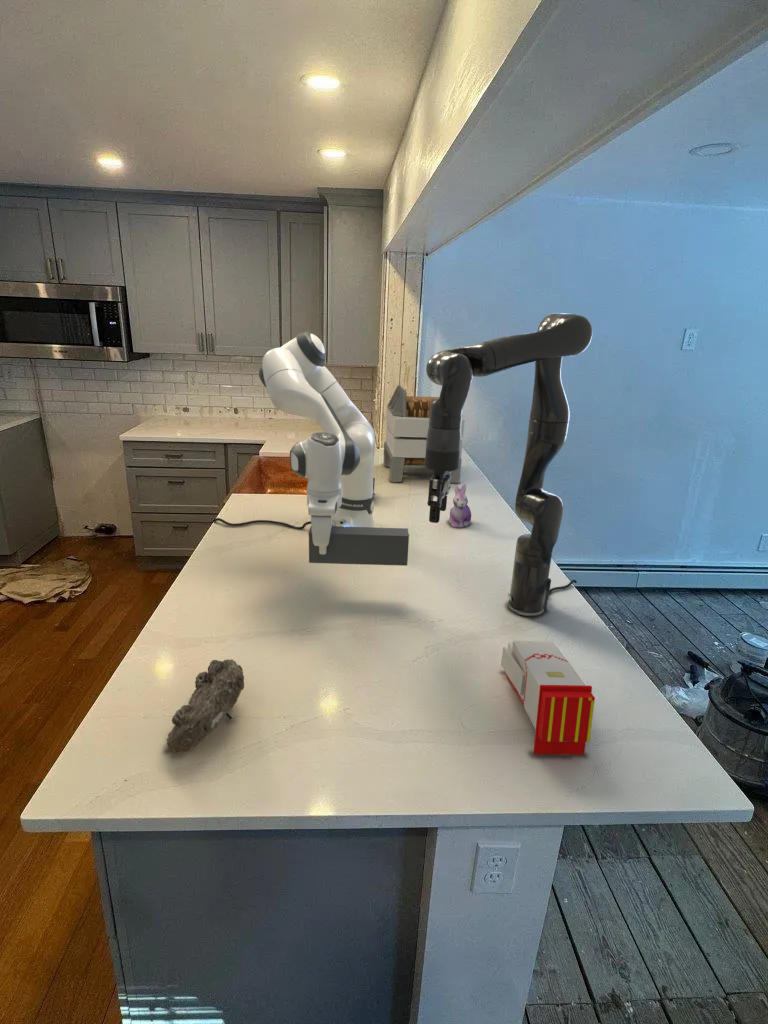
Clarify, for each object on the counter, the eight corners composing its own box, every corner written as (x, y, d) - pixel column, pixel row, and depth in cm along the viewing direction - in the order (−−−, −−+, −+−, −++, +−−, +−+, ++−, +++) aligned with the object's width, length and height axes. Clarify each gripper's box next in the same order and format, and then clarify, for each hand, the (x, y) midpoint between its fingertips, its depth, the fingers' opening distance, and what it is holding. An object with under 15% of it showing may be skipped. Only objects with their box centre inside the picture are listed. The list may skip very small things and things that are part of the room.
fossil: (192, 660, 117) (244, 628, 112) (224, 691, 120) (276, 661, 115) (142, 746, 98) (202, 712, 93) (182, 779, 101) (242, 748, 96)
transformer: (382, 463, 289) (386, 382, 275) (445, 464, 293) (451, 384, 279) (390, 482, 257) (394, 392, 243) (460, 483, 261) (468, 394, 247)
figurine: (457, 529, 205) (460, 490, 200) (441, 520, 214) (444, 482, 209) (478, 526, 210) (482, 487, 205) (462, 517, 218) (465, 480, 213)
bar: (309, 563, 147) (308, 533, 144) (311, 554, 152) (310, 525, 149) (407, 565, 147) (409, 536, 144) (406, 557, 152) (407, 528, 149)
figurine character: (374, 507, 229) (374, 492, 242) (375, 490, 225) (375, 475, 239) (358, 507, 228) (358, 491, 242) (358, 490, 225) (359, 475, 238)
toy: (549, 624, 127) (604, 693, 98) (544, 678, 130) (596, 762, 100) (496, 622, 127) (535, 692, 97) (491, 677, 129) (528, 761, 100)
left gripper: (315, 485, 153) (315, 532, 158) (307, 511, 134) (307, 564, 139) (339, 486, 153) (338, 533, 158) (334, 512, 134) (333, 565, 139)
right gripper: (454, 455, 117) (448, 529, 122) (465, 441, 130) (458, 508, 135) (419, 452, 119) (414, 524, 124) (432, 438, 132) (428, 504, 137)
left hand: (324, 548), depth 148 cm, fingers closed on bar, 5 cm apart
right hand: (437, 515), depth 130 cm, fingers open, 8 cm apart
